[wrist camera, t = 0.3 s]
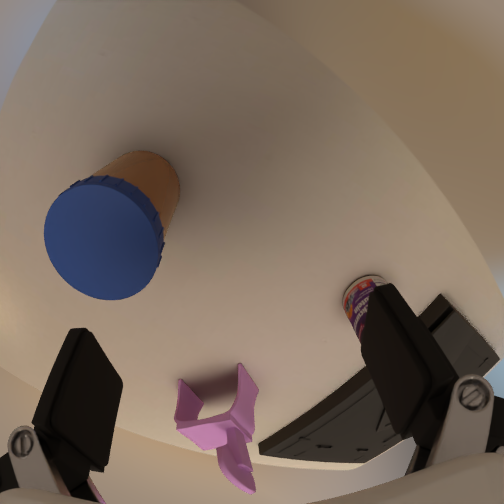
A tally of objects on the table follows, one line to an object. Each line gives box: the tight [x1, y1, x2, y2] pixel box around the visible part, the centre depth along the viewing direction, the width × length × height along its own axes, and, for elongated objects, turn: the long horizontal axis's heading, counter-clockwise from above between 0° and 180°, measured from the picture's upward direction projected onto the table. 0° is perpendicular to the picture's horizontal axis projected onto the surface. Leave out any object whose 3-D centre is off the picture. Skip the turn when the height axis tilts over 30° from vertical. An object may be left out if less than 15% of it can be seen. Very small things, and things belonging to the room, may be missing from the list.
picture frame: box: [258, 294, 500, 463], centre depth 42 cm, size 31×4×38 cm
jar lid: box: [44, 175, 165, 300], centre depth 15 cm, size 7×7×2 cm
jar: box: [88, 151, 180, 239], centre depth 19 cm, size 7×7×9 cm
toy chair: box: [174, 363, 259, 494], centre depth 29 cm, size 8×9×15 cm
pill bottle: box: [343, 276, 388, 344], centre depth 26 cm, size 5×5×10 cm
